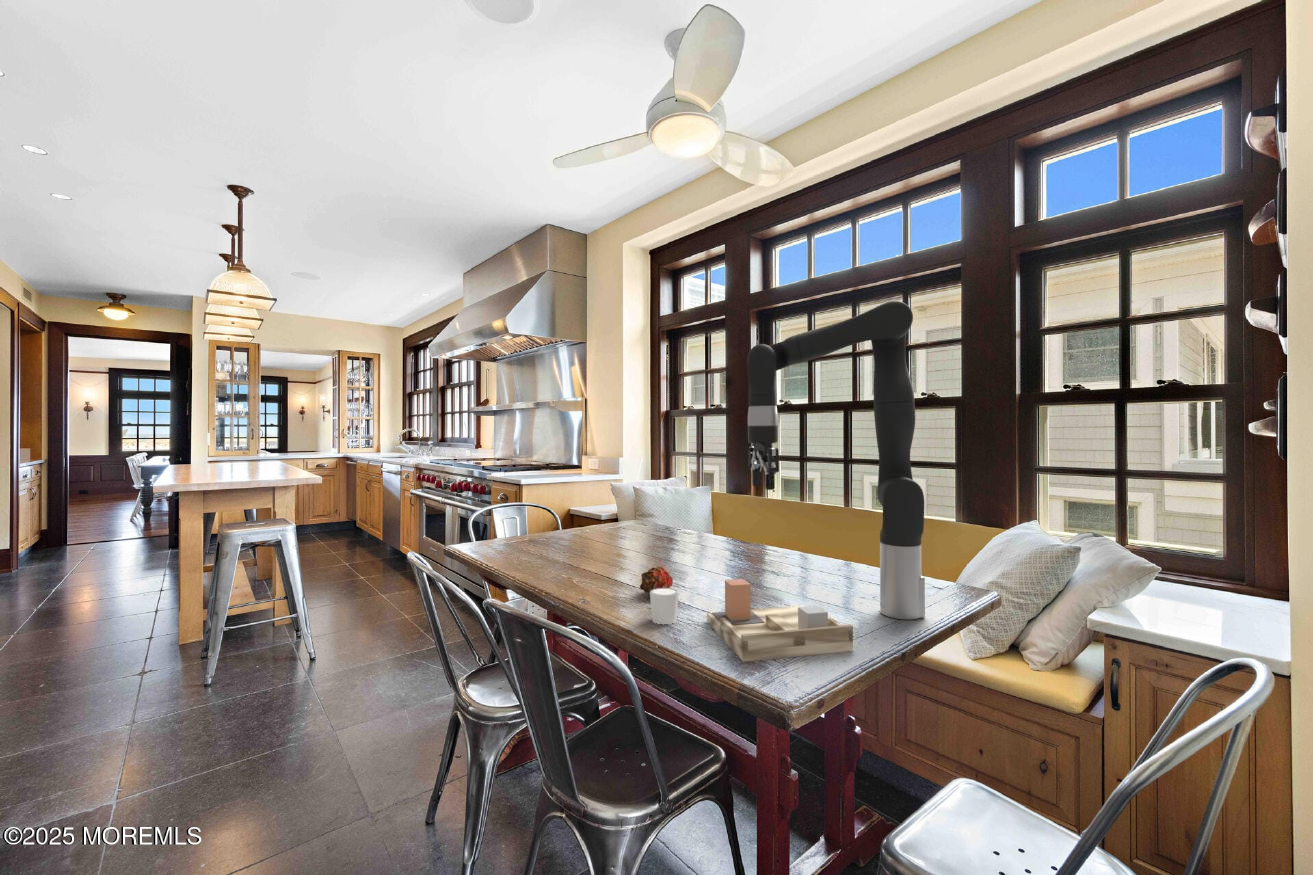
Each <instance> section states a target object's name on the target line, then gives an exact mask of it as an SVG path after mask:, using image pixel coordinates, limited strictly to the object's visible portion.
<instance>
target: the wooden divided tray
mask: <svg viewBox="0 0 1313 875" xmlns="http://www.w3.org/2000/svg"><path fill="white" fill-rule="evenodd" d="M798 607H802V605H793V606H792V605H790V606H779V607H768V608H766V607H765V608H754V609H752V608H751V619H750V620H738V621H731V620H730V619H729V618H728V617H727V616H726V615H725V611H715V612H707V613H706V622H707V624H709V626H711V628H712V629H713V630H714V631H715V632H716V633H717V635H719V636H720V638H721V639H722V640H723V641H724V642H725V643H726V644H727V646H729V648H730V649H731V650H732V651H733V652H734V653H735V654H736V655H737V657H739V658H740V660H741V661H742V662H744V663H745V662H754V661H764V660H772V659H773V660H775V659H784V658H794V657H803V656H814V655H823V654H834V653H843V652H844V653H845V652H846V653H847V652H853V651H854V626H853V625H852V624H845V625H844V624H842V623H841V622H840V621H837V620H836V619H835V618H833V617H831V616H829V615H828V627H818V628H807V629H798Z"/></svg>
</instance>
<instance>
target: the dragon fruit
mask: <svg viewBox="0 0 1313 875" xmlns="http://www.w3.org/2000/svg"><path fill="white" fill-rule="evenodd" d="M640 575H641V579H640V580H641V583H640V585H639V588H640V590H642V591H643V592H644V593H646V594H648V595H649V596H650V591H651V590H653V589H657V588H671V587H672V586H673V577H672V576H671V574H670V573H669V572H668V570H666V569H665V568H664V567H662V566H661V565H659V566H656V567H652V568H650V569H648V570H647V571H645V572H643V573H642V574H640Z"/></svg>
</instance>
